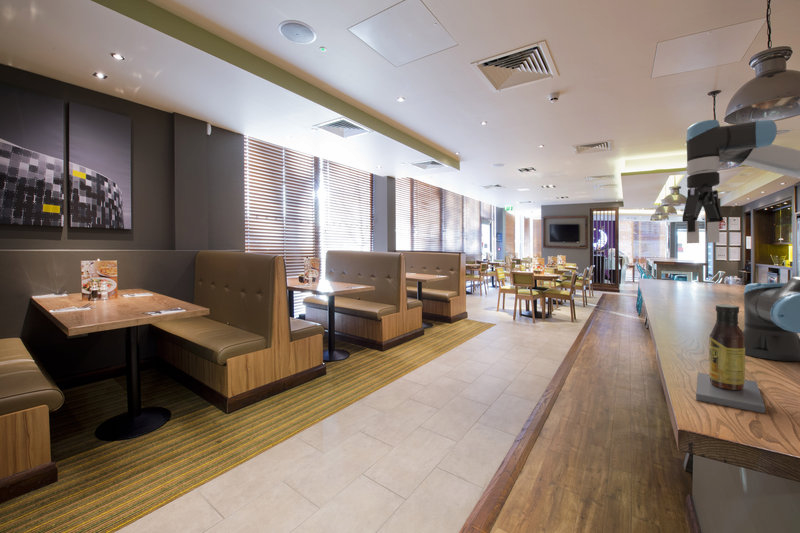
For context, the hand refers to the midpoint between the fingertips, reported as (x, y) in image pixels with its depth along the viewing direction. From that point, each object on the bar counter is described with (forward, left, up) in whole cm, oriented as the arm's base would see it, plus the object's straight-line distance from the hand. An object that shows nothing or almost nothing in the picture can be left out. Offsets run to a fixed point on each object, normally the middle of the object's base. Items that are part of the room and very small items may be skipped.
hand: (703, 242), depth 107 cm
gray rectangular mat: (+8, +28, -37) cm, 47 cm away
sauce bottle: (+8, +28, -35) cm, 46 cm away
